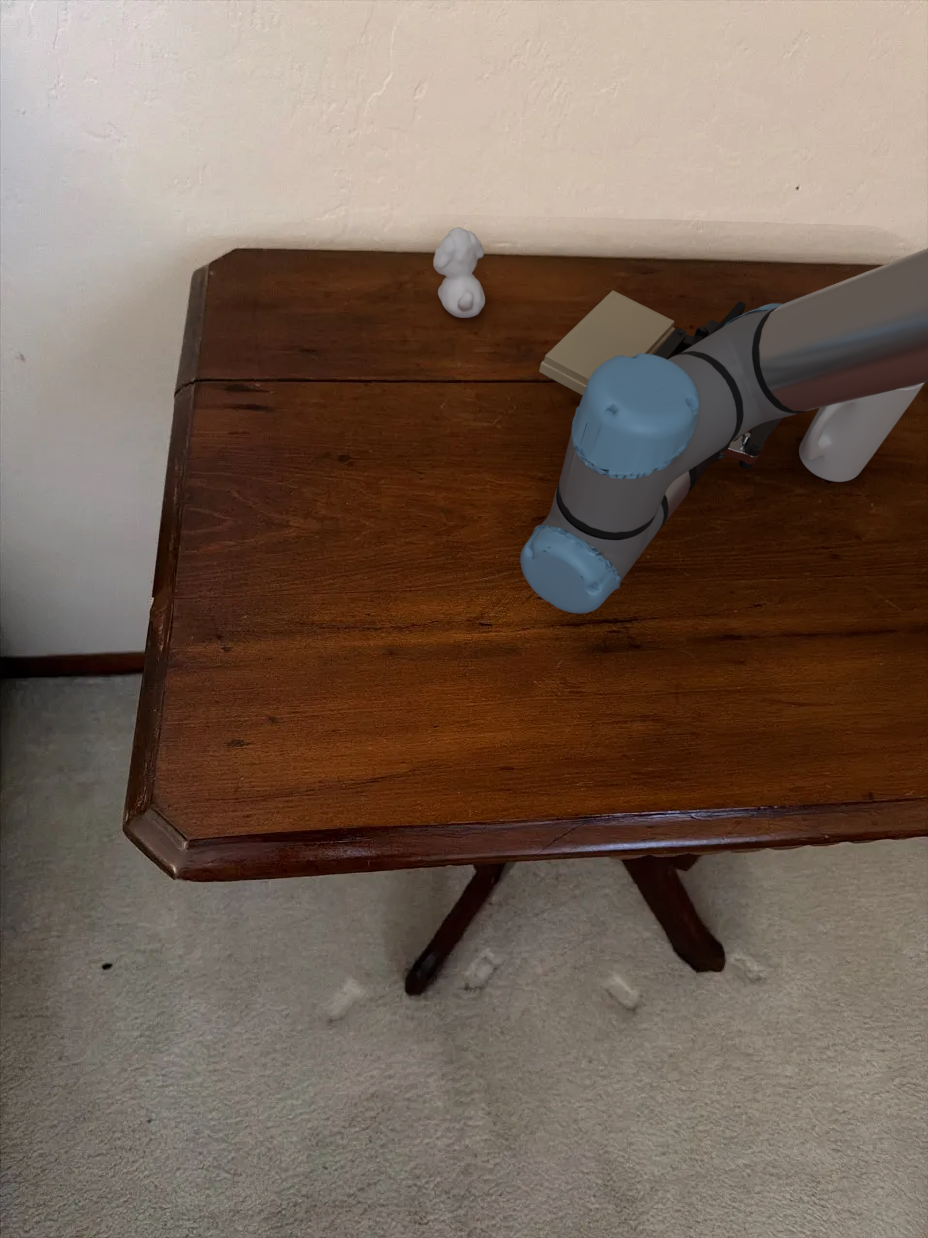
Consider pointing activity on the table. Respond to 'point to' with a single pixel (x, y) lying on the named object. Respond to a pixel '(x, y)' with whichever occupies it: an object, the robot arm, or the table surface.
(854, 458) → the mug
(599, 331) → the beige stepped flat slab
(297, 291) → the table surface
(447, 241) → the figurine
